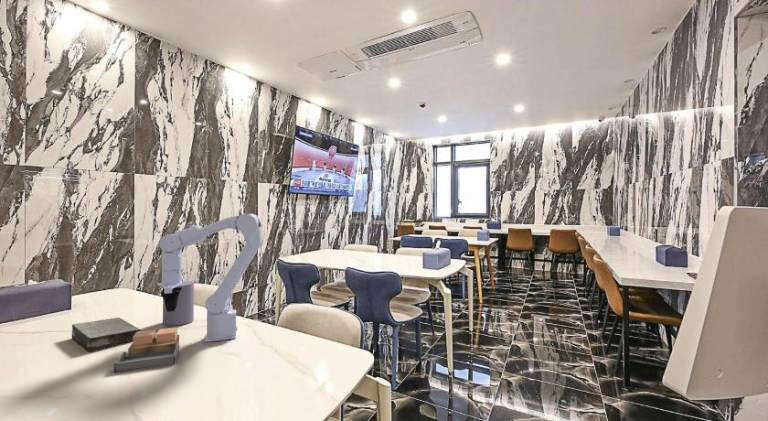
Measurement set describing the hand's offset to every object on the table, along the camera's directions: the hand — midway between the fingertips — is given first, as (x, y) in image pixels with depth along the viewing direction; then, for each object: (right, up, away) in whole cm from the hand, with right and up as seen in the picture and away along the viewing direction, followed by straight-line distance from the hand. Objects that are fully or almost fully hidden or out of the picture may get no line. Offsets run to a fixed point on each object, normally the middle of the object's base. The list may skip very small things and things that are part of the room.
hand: (171, 310), depth 118 cm
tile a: (+3, -7, -7) cm, 10 cm away
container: (-8, -10, +18) cm, 22 cm away
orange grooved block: (+1, -10, -9) cm, 14 cm away
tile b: (-3, -7, -10) cm, 12 cm away
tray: (+4, -10, -17) cm, 20 cm away
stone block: (-22, -10, 0) cm, 24 cm away
